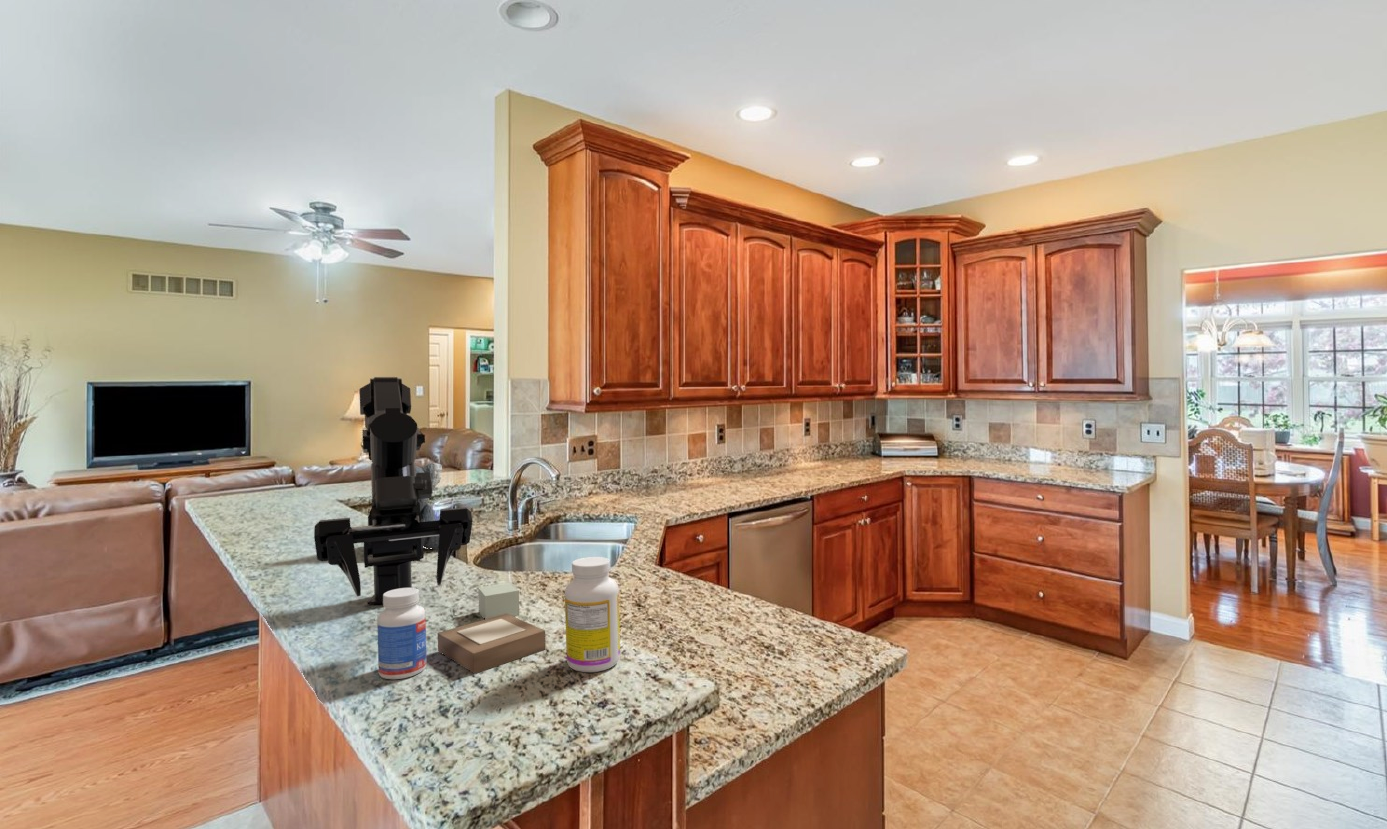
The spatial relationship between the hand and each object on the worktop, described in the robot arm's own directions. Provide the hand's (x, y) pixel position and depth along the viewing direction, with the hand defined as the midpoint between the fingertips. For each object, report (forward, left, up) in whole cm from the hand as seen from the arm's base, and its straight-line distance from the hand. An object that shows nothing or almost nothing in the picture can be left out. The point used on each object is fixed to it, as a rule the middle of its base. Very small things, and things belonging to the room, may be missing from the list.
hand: (400, 588), depth 80 cm
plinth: (-2, +11, -10) cm, 14 cm away
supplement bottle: (+5, +24, -10) cm, 26 cm away
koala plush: (-68, -15, -10) cm, 70 cm away
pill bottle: (+2, +1, -10) cm, 10 cm away
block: (-17, +10, -10) cm, 22 cm away
